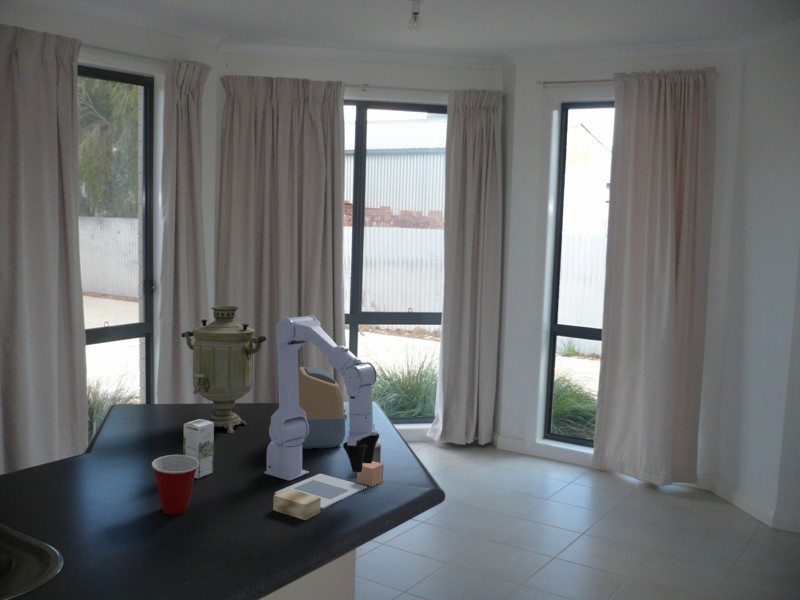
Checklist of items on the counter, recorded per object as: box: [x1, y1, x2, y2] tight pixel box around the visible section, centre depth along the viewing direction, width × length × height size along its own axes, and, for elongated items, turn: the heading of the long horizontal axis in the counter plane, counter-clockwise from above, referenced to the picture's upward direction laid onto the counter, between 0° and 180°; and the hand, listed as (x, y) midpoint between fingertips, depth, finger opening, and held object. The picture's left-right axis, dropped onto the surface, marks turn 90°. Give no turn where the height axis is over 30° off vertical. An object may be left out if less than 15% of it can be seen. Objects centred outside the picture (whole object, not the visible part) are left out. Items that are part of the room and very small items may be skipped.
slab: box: [272, 489, 321, 521], centre depth 180 cm, size 10×6×4 cm, turn 57°
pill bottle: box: [372, 432, 382, 463], centre depth 213 cm, size 5×5×10 cm
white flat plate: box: [274, 473, 368, 510], centre depth 194 cm, size 16×18×1 cm
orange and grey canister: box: [298, 366, 346, 450], centre depth 233 cm, size 17×17×23 cm
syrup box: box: [182, 418, 215, 479], centre depth 203 cm, size 6×6×14 cm
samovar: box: [180, 305, 267, 434], centre depth 244 cm, size 30×26×40 cm
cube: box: [356, 461, 384, 487], centre depth 201 cm, size 5×5×5 cm
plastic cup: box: [151, 454, 199, 516], centre depth 178 cm, size 11×11×12 cm
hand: (362, 467), depth 185 cm, fingers open, 7 cm apart
